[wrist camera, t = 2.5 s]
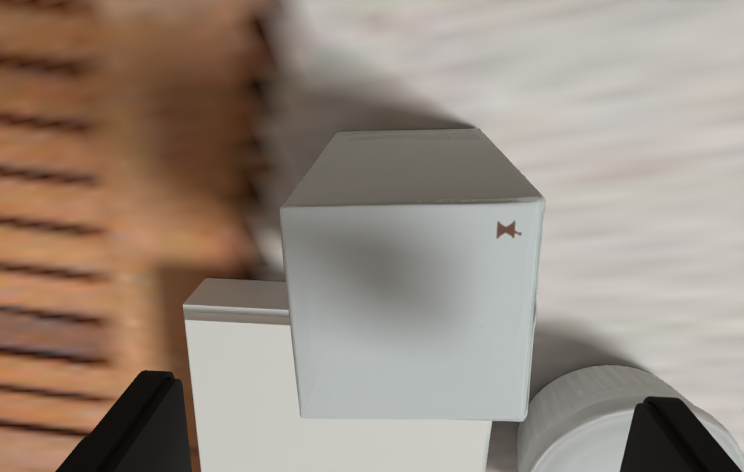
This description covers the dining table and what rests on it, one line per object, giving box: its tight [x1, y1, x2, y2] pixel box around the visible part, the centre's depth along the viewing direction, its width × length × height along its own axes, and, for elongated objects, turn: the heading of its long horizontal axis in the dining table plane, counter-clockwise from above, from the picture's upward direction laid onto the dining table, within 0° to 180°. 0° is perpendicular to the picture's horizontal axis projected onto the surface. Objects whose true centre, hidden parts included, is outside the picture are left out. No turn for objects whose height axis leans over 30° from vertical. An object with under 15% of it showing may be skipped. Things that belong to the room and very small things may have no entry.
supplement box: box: [279, 129, 546, 422], centre depth 20 cm, size 7×7×13 cm
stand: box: [183, 278, 492, 472], centre depth 29 cm, size 16×16×4 cm
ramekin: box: [517, 365, 744, 472], centre depth 28 cm, size 11×11×5 cm
